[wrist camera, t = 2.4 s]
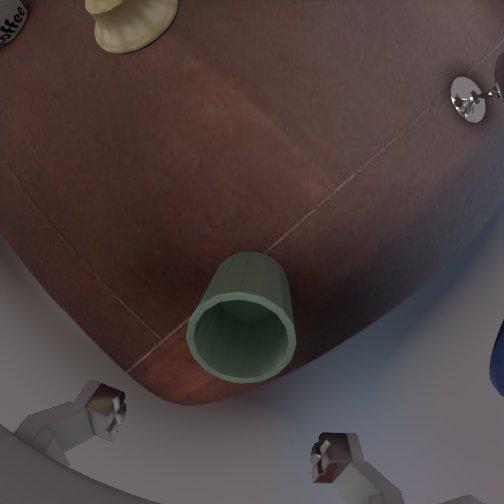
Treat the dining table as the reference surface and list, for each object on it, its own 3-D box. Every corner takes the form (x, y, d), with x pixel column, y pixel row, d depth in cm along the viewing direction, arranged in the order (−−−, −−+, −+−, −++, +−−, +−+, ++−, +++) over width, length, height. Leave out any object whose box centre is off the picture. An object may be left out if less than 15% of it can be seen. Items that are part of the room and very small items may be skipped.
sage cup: (297, 260, 23) (309, 306, 15) (278, 328, 25) (280, 390, 17) (219, 243, 23) (193, 281, 15) (207, 313, 25) (182, 370, 17)
